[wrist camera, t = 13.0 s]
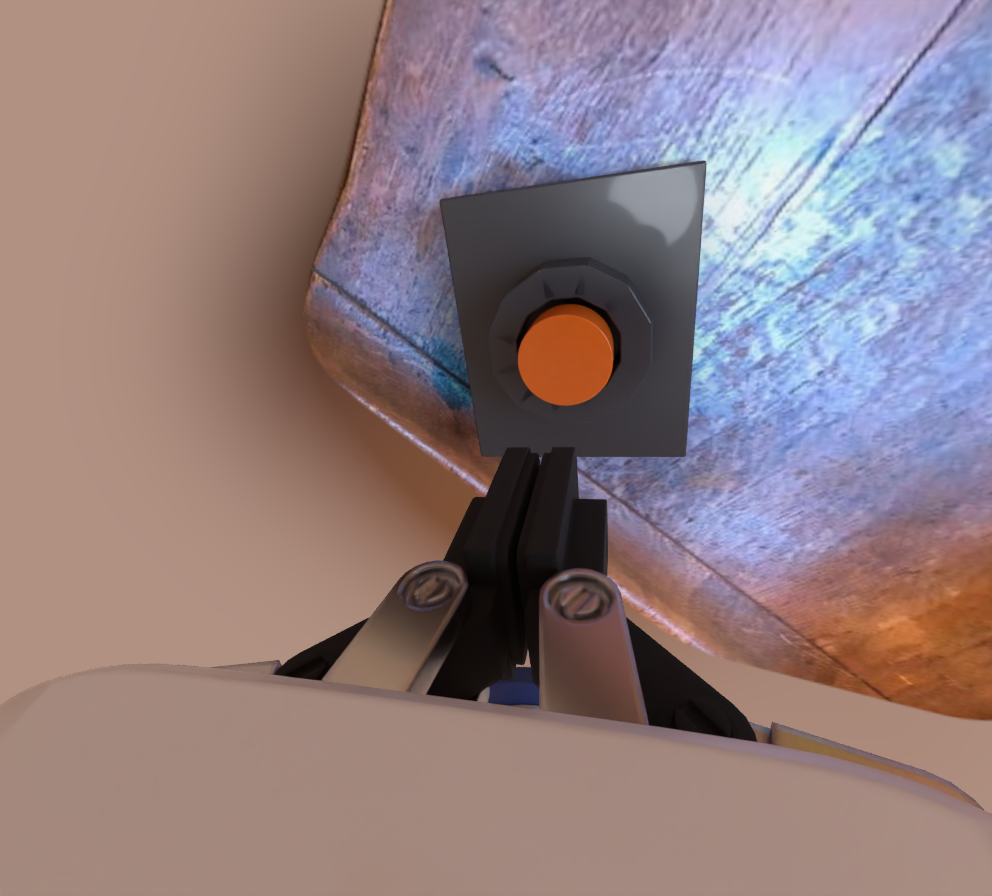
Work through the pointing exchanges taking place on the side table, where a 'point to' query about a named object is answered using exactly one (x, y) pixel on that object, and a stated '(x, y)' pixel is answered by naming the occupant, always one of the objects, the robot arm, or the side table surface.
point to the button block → (588, 282)
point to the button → (566, 355)
